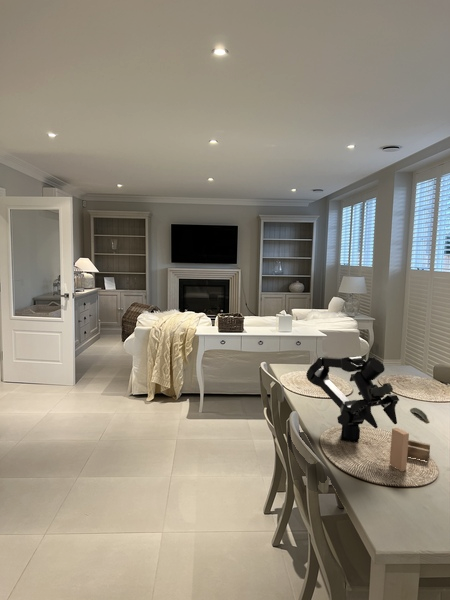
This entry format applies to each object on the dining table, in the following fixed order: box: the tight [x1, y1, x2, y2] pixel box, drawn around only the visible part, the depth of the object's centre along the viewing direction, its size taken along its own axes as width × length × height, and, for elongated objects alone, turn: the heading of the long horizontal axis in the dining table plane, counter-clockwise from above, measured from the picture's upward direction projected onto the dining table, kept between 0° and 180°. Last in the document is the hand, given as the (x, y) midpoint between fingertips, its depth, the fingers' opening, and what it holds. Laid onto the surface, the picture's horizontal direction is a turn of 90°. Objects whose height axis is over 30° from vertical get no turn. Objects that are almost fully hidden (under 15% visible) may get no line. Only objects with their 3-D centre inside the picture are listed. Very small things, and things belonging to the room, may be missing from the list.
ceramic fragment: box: [409, 407, 431, 424], centre depth 189 cm, size 14×5×4 cm, turn 4°
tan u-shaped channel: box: [407, 439, 431, 462], centre depth 152 cm, size 11×8×4 cm
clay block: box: [389, 427, 410, 472], centre depth 142 cm, size 5×2×13 cm, turn 25°
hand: (386, 425), depth 146 cm, fingers open, 9 cm apart
